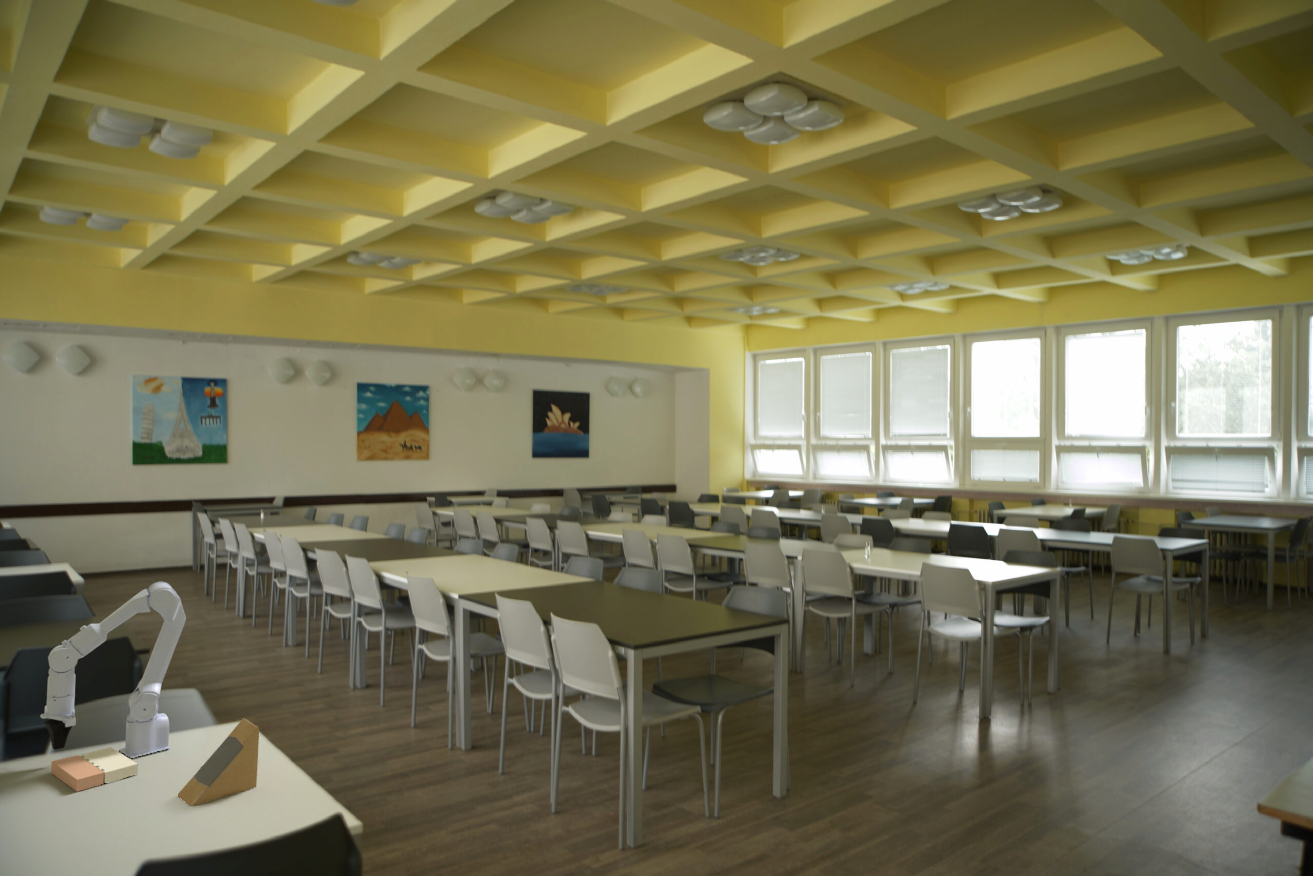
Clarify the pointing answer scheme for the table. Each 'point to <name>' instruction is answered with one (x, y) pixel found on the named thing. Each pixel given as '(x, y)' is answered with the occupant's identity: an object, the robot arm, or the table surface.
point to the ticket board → (111, 764)
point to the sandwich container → (226, 767)
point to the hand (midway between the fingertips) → (58, 748)
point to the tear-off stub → (77, 773)
